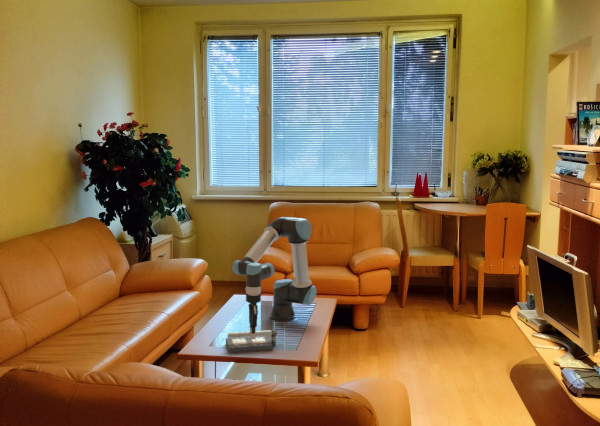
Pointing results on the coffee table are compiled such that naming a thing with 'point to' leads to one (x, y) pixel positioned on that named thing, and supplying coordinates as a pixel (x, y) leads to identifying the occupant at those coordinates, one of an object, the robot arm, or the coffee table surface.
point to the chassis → (250, 344)
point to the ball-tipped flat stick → (258, 333)
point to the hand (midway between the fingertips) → (252, 338)
